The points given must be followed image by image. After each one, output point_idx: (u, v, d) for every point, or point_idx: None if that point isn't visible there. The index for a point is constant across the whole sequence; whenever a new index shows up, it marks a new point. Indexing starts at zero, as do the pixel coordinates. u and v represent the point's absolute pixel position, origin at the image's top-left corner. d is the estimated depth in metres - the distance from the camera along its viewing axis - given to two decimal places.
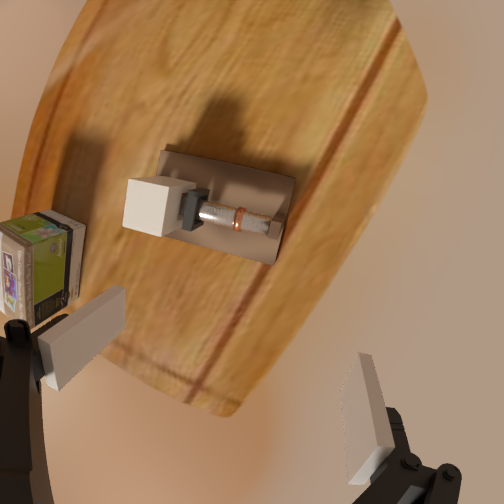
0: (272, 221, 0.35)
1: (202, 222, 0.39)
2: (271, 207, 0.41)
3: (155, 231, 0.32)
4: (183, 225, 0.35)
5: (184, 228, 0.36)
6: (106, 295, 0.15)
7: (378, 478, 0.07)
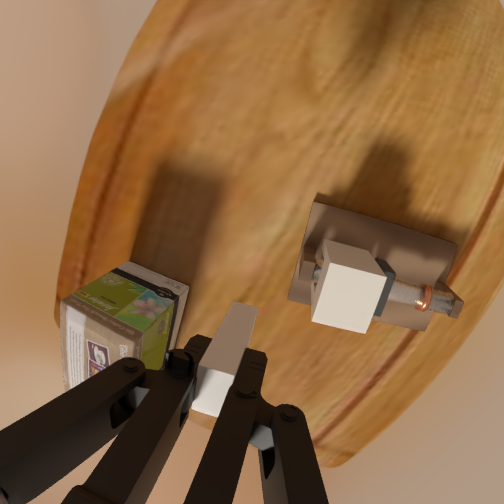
0: (456, 300, 0.28)
1: None
2: (433, 275, 0.34)
3: (359, 327, 0.25)
4: None
5: None
6: (234, 312, 0.17)
7: (220, 414, 0.10)
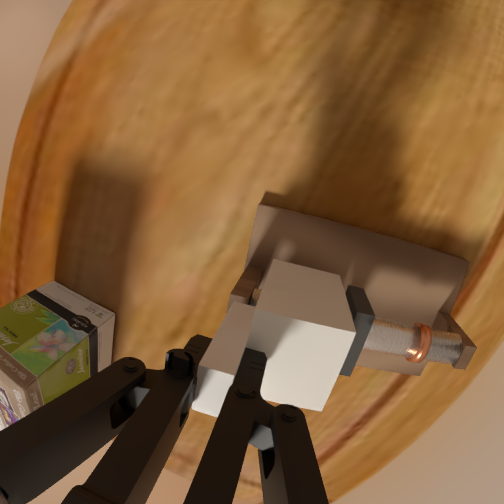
0: (466, 346, 0.18)
1: None
2: (433, 304, 0.24)
3: (311, 403, 0.16)
4: None
5: None
6: (234, 312, 0.17)
7: (220, 414, 0.10)
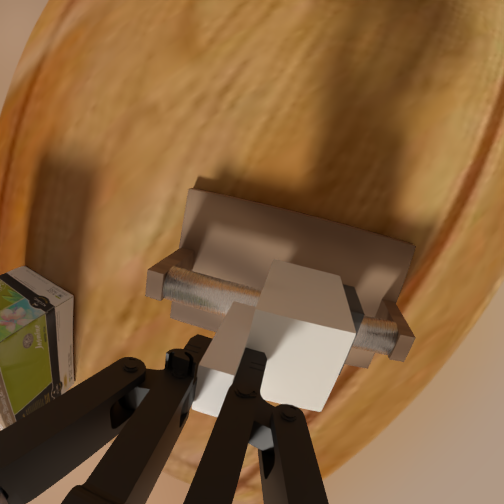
0: (402, 335, 0.19)
1: None
2: (376, 291, 0.24)
3: (310, 404, 0.16)
4: None
5: None
6: (234, 312, 0.17)
7: (220, 414, 0.10)
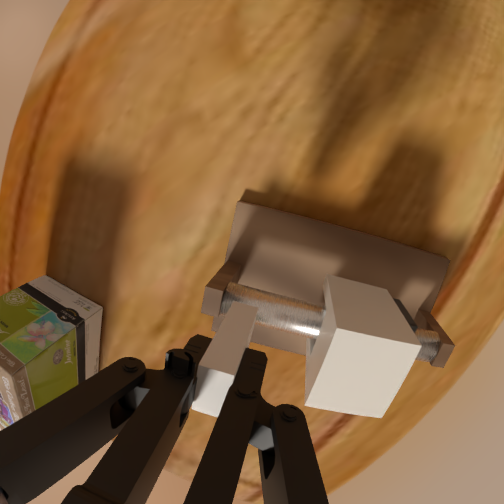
0: (444, 344, 0.19)
1: None
2: (413, 301, 0.25)
3: (374, 411, 0.16)
4: None
5: None
6: (234, 312, 0.17)
7: (220, 414, 0.10)
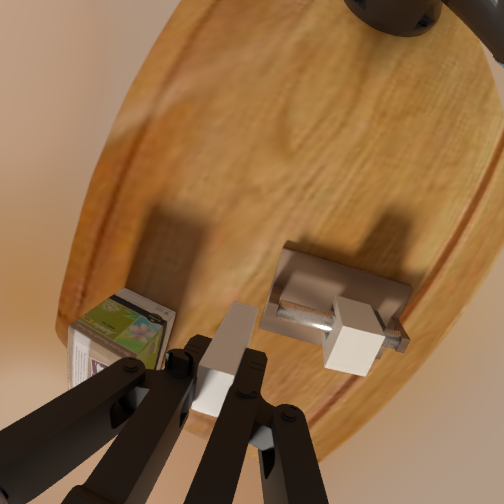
0: (403, 338, 0.35)
1: None
2: (387, 312, 0.40)
3: (361, 372, 0.31)
4: None
5: None
6: (233, 312, 0.17)
7: (220, 414, 0.10)
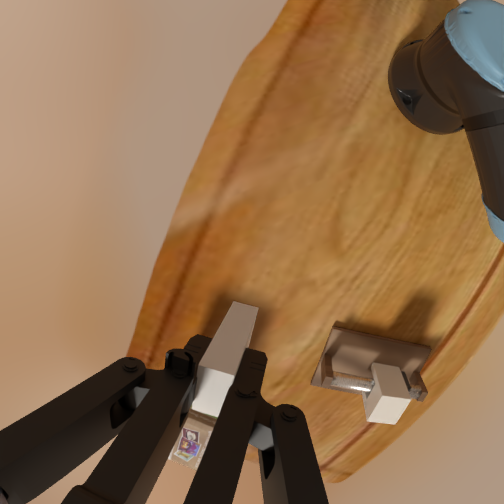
0: (423, 392, 0.42)
1: None
2: (411, 368, 0.47)
3: (392, 422, 0.39)
4: None
5: None
6: (233, 312, 0.17)
7: (220, 414, 0.10)
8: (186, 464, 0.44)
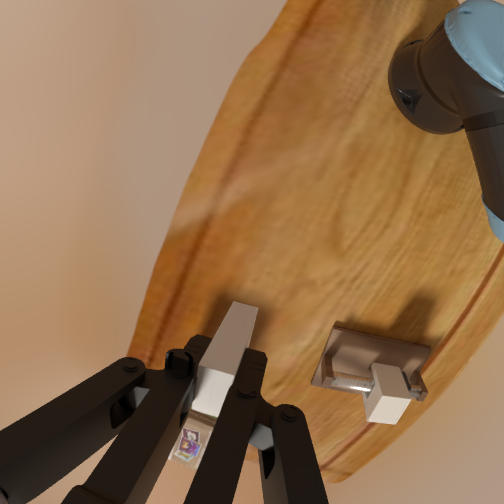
0: (423, 392, 0.42)
1: None
2: (411, 368, 0.47)
3: (392, 422, 0.39)
4: None
5: None
6: (233, 312, 0.17)
7: (220, 414, 0.10)
8: (186, 464, 0.44)
